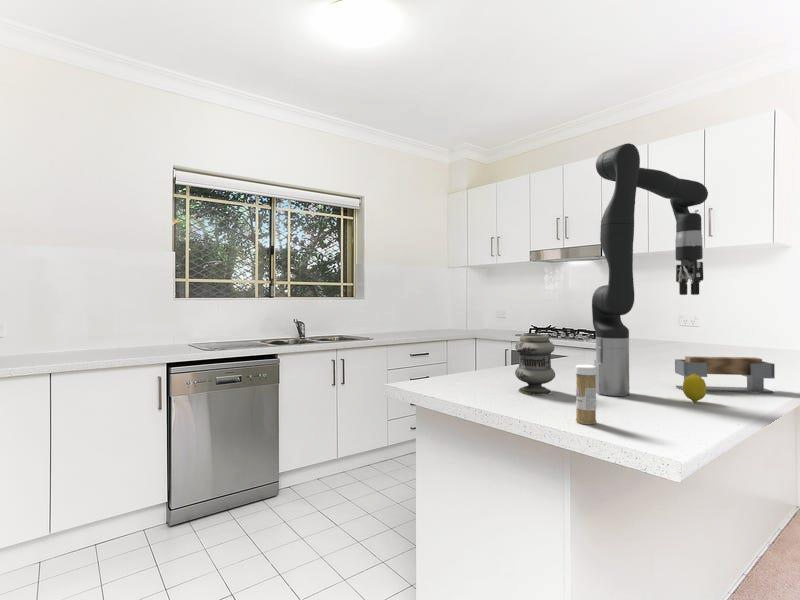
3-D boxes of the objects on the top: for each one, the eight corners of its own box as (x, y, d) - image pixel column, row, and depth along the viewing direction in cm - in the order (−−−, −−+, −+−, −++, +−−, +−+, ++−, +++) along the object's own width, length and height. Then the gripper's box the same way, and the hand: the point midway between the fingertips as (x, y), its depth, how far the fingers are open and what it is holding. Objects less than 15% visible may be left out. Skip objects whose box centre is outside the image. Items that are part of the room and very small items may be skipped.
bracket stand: (684, 391, 139) (683, 362, 139) (674, 386, 146) (674, 359, 146) (775, 393, 134) (775, 363, 134) (761, 389, 141) (760, 360, 141)
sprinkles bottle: (572, 420, 107) (571, 364, 107) (590, 419, 108) (590, 363, 108) (581, 425, 103) (581, 367, 103) (600, 424, 103) (600, 366, 103)
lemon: (699, 400, 127) (699, 372, 127) (710, 404, 121) (710, 375, 121) (678, 399, 127) (678, 372, 127) (689, 404, 122) (689, 375, 122)
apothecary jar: (515, 395, 135) (515, 335, 135) (514, 387, 147) (514, 332, 147) (557, 396, 133) (557, 336, 133) (553, 388, 145) (552, 333, 145)
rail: (690, 373, 140) (689, 357, 140) (685, 371, 144) (685, 356, 144) (762, 375, 136) (762, 359, 136) (755, 373, 140) (755, 357, 140)
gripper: (667, 248, 155) (667, 295, 155) (685, 243, 141) (686, 294, 141) (691, 247, 153) (691, 294, 153) (712, 242, 139) (712, 294, 139)
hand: (689, 294), depth 147 cm, fingers open, 8 cm apart
